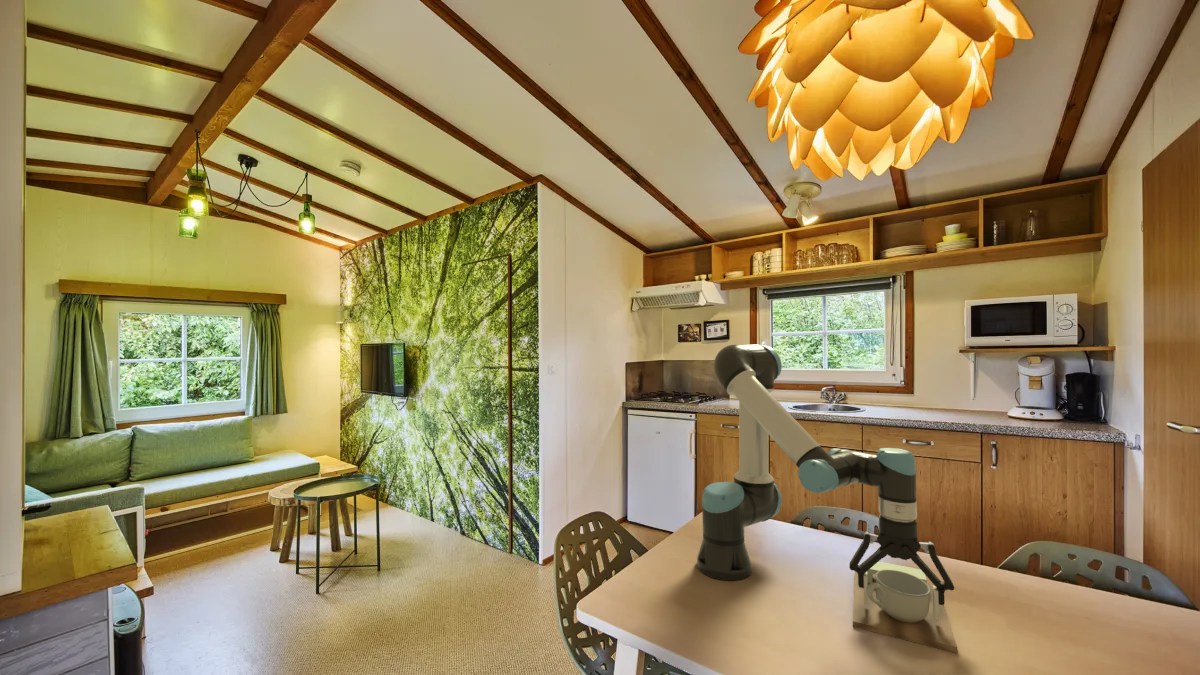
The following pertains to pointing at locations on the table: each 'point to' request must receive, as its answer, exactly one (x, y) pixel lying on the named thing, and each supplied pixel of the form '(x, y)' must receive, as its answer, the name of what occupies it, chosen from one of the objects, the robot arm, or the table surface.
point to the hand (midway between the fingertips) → (900, 609)
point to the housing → (887, 566)
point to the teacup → (900, 595)
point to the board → (918, 632)
